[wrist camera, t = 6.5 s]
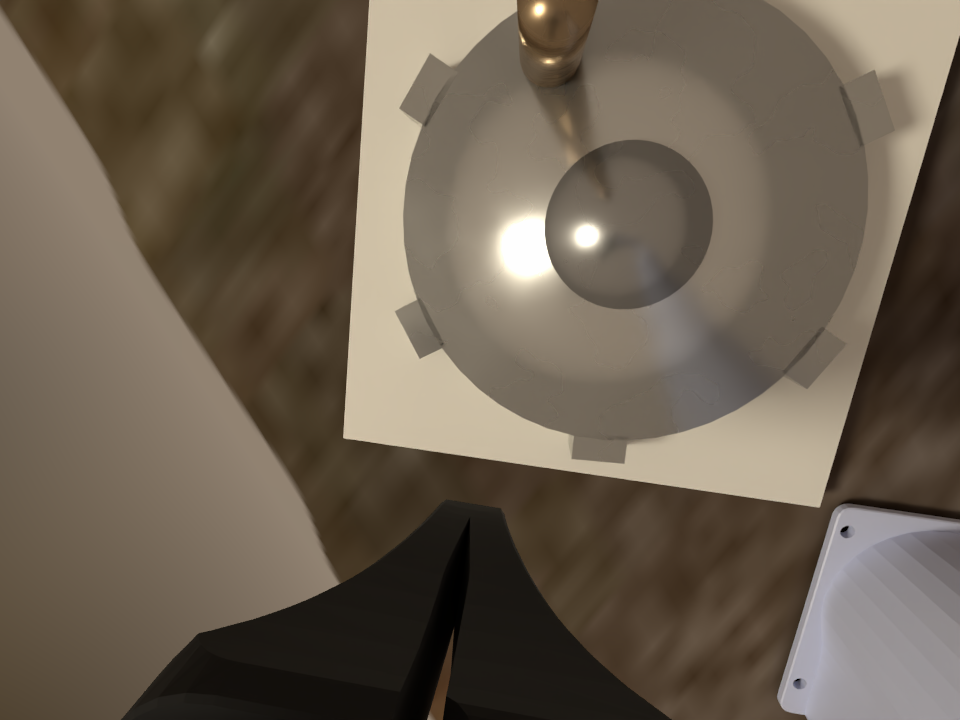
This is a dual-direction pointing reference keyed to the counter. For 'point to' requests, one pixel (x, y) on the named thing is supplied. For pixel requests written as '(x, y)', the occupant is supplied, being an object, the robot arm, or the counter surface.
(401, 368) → the cap plate
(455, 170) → the tabbed shallow bowl
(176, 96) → the counter surface
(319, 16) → the counter surface
